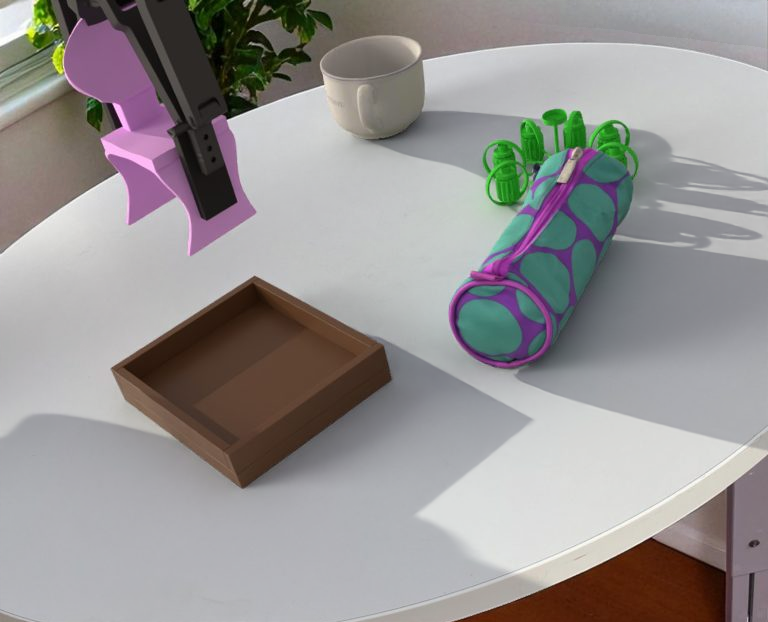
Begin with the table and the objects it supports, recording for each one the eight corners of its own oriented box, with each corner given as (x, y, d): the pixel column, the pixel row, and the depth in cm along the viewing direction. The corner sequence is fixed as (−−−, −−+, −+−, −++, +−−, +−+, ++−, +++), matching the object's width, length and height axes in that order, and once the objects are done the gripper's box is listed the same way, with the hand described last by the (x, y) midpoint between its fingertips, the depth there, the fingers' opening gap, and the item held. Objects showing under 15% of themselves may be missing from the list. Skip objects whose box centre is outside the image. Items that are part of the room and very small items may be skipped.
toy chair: (183, 266, 75) (102, 55, 64) (115, 231, 80) (30, 31, 69) (272, 208, 78) (209, -3, 67) (201, 178, 83) (132, -22, 72)
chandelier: (672, 187, 98) (672, 116, 93) (525, 246, 96) (517, 176, 91) (590, 127, 108) (586, 60, 103) (457, 179, 106) (446, 113, 101)
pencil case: (540, 227, 98) (530, 129, 91) (636, 235, 94) (633, 133, 87) (452, 371, 86) (433, 271, 79) (557, 387, 82) (546, 283, 75)
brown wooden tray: (125, 399, 92) (109, 368, 89) (265, 307, 97) (254, 275, 95) (242, 489, 81) (228, 456, 79) (392, 379, 87) (384, 345, 84)
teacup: (352, 104, 122) (336, 34, 117) (443, 98, 119) (432, 26, 113) (315, 168, 114) (296, 96, 108) (412, 164, 110) (398, 89, 105)
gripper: (209, -176, 56) (314, 208, 72) (26, -194, 69) (149, 135, 85) (90, -123, 53) (226, 263, 69) (-77, -152, 66) (70, 179, 82)
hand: (184, 192), depth 77 cm, fingers closed on toy chair, 8 cm apart
